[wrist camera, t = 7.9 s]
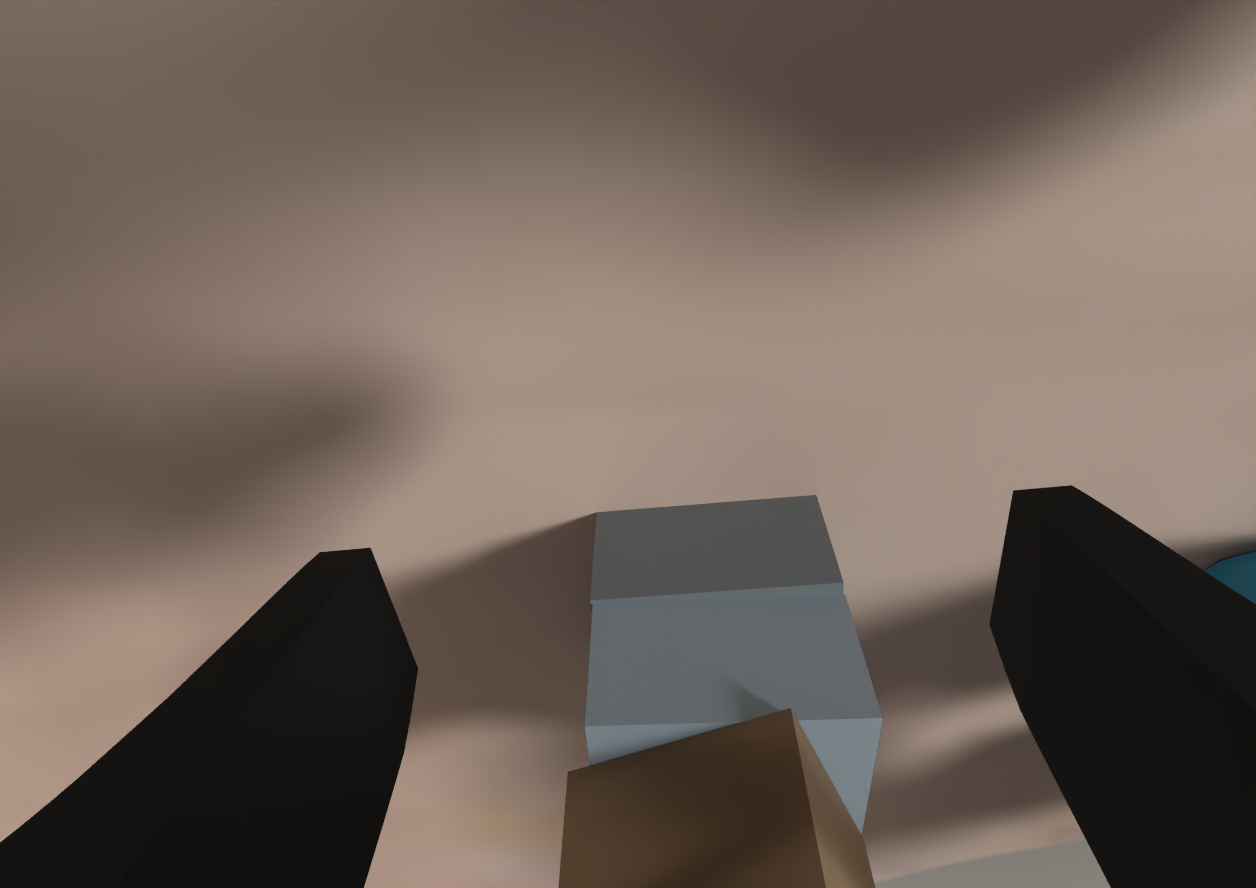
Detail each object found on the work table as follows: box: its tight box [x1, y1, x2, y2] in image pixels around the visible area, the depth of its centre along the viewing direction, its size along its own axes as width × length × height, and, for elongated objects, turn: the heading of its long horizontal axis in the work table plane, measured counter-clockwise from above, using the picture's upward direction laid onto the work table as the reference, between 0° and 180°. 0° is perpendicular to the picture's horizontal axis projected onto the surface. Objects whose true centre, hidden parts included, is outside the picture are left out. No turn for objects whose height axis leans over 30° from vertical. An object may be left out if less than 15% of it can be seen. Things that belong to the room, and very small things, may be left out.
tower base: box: [590, 495, 843, 609], centre depth 22 cm, size 6×6×4 cm
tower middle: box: [585, 595, 883, 835], centre depth 19 cm, size 6×6×4 cm
